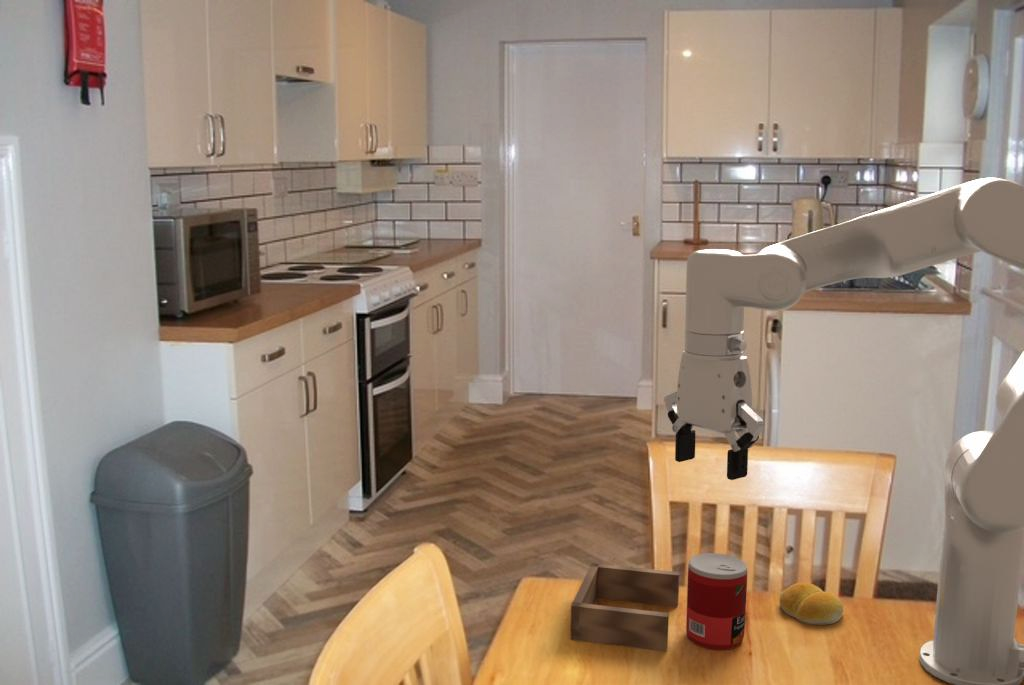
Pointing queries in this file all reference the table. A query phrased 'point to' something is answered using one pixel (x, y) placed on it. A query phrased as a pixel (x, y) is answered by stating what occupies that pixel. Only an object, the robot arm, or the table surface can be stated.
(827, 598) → the bread roll
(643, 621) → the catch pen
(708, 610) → the canned food
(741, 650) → the table surface
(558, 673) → the table surface
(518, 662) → the table surface
